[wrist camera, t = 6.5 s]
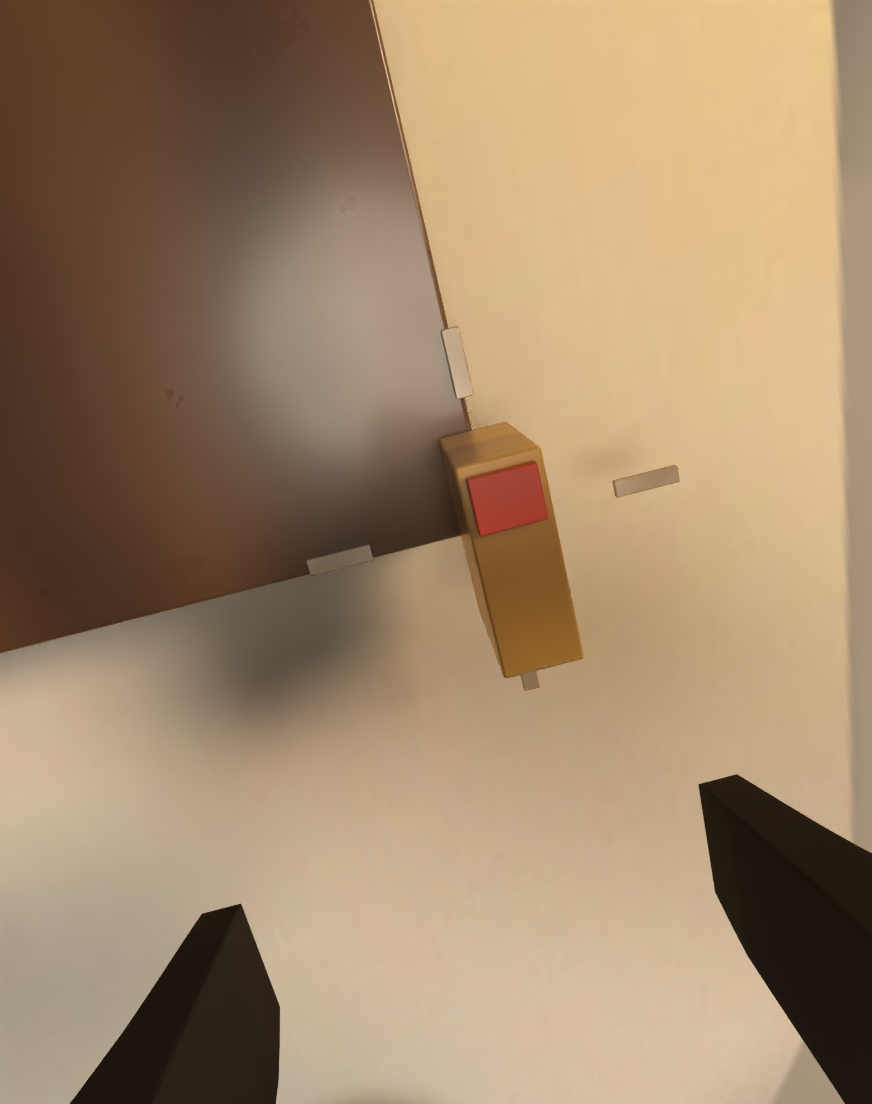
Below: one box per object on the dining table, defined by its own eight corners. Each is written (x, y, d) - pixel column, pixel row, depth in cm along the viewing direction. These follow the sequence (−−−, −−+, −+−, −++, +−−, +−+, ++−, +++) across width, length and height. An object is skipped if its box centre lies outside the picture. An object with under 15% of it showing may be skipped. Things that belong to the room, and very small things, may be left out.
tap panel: (465, -529, 15) (488, -747, 12) (658, 599, 21) (705, 644, 18) (-699, -238, 15) (-977, -383, 12) (-146, 805, 21) (-232, 885, 18)
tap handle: (545, 595, 18) (588, 664, 14) (479, 612, 18) (506, 686, 14) (507, 421, 17) (544, 447, 13) (437, 438, 17) (455, 470, 13)
